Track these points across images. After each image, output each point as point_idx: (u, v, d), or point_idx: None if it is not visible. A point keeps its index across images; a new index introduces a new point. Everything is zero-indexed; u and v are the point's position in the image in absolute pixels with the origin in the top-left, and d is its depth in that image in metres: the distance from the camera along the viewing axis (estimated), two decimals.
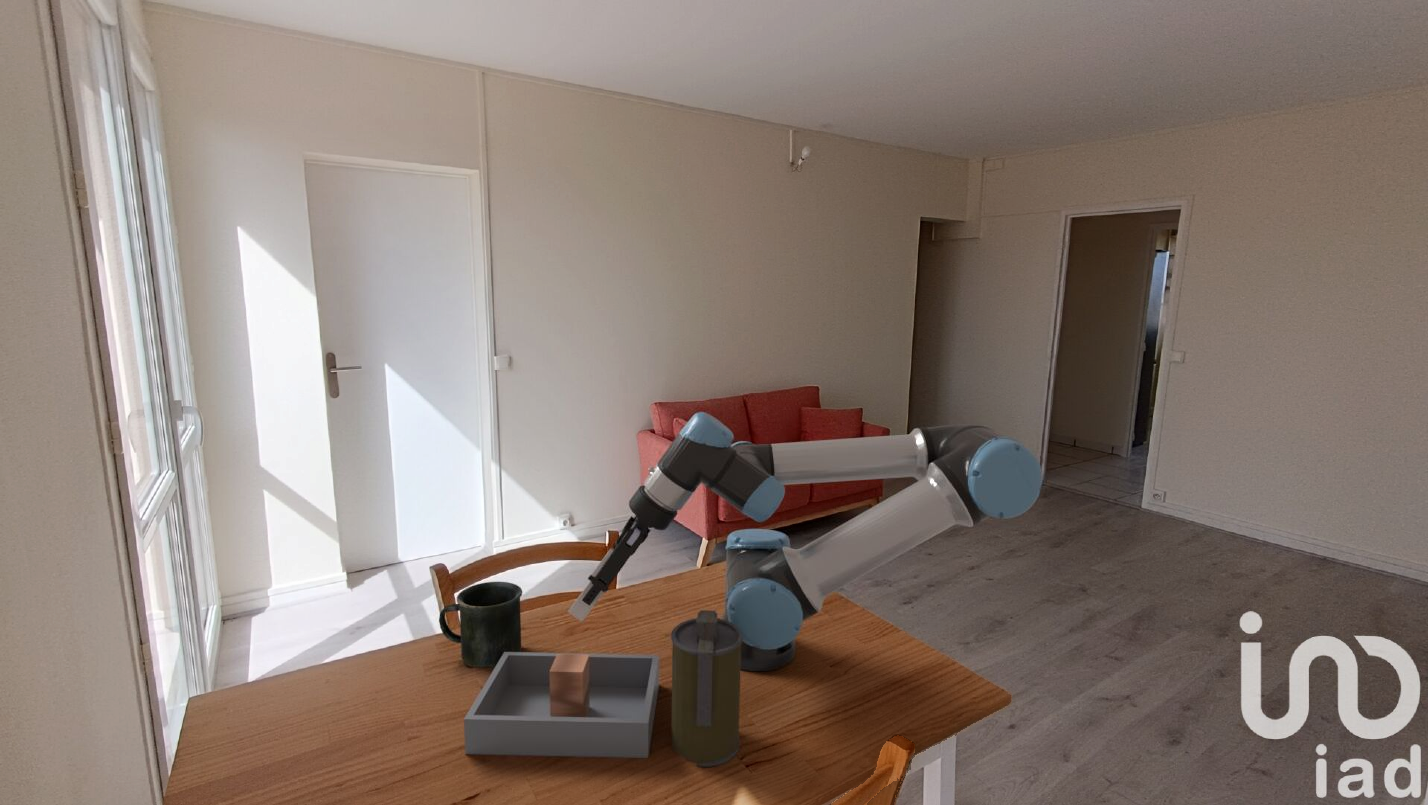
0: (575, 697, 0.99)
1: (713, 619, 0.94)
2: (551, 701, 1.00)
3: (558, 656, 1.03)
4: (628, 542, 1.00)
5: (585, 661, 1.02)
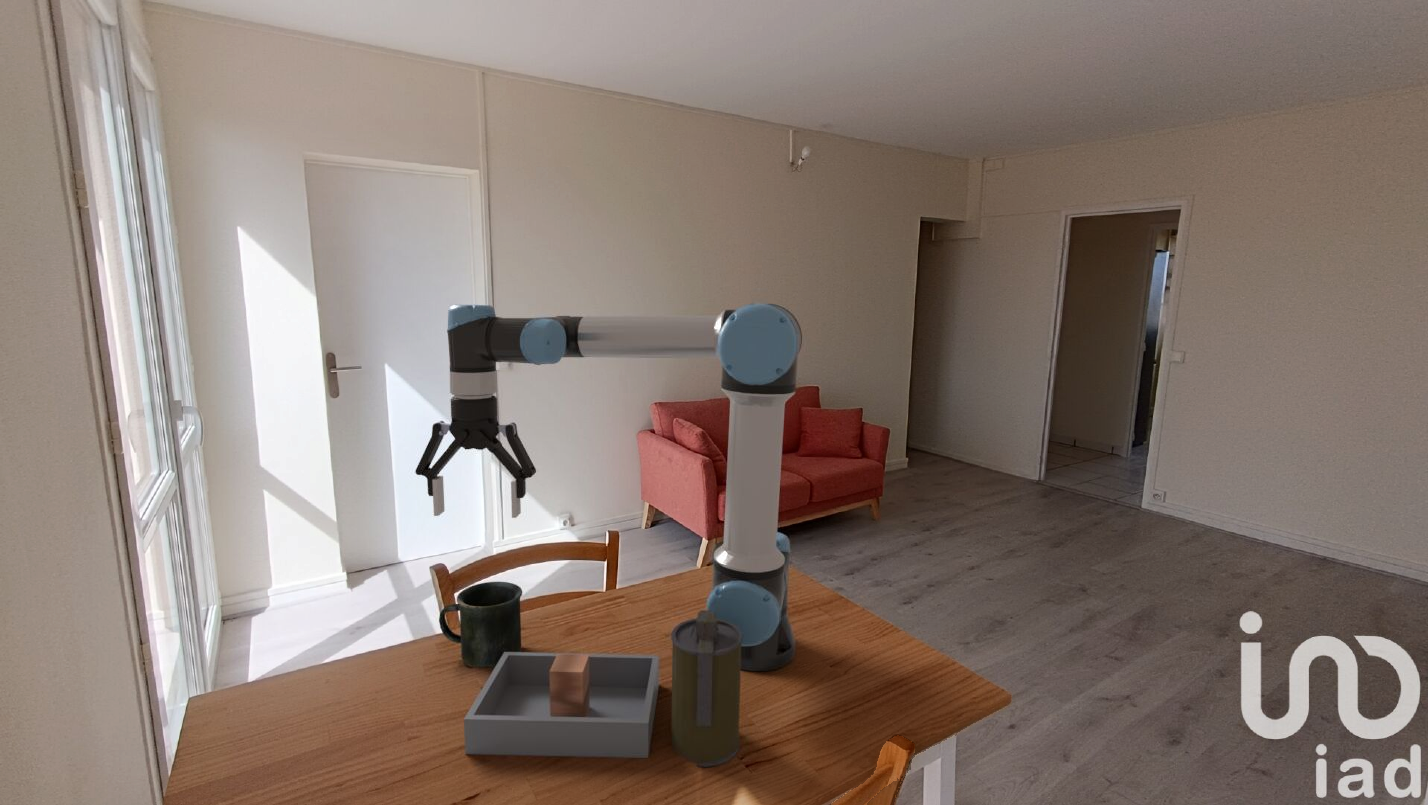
0: (575, 697, 0.99)
1: (713, 619, 0.94)
2: (551, 701, 1.00)
3: (558, 656, 1.03)
4: None
5: (585, 661, 1.02)
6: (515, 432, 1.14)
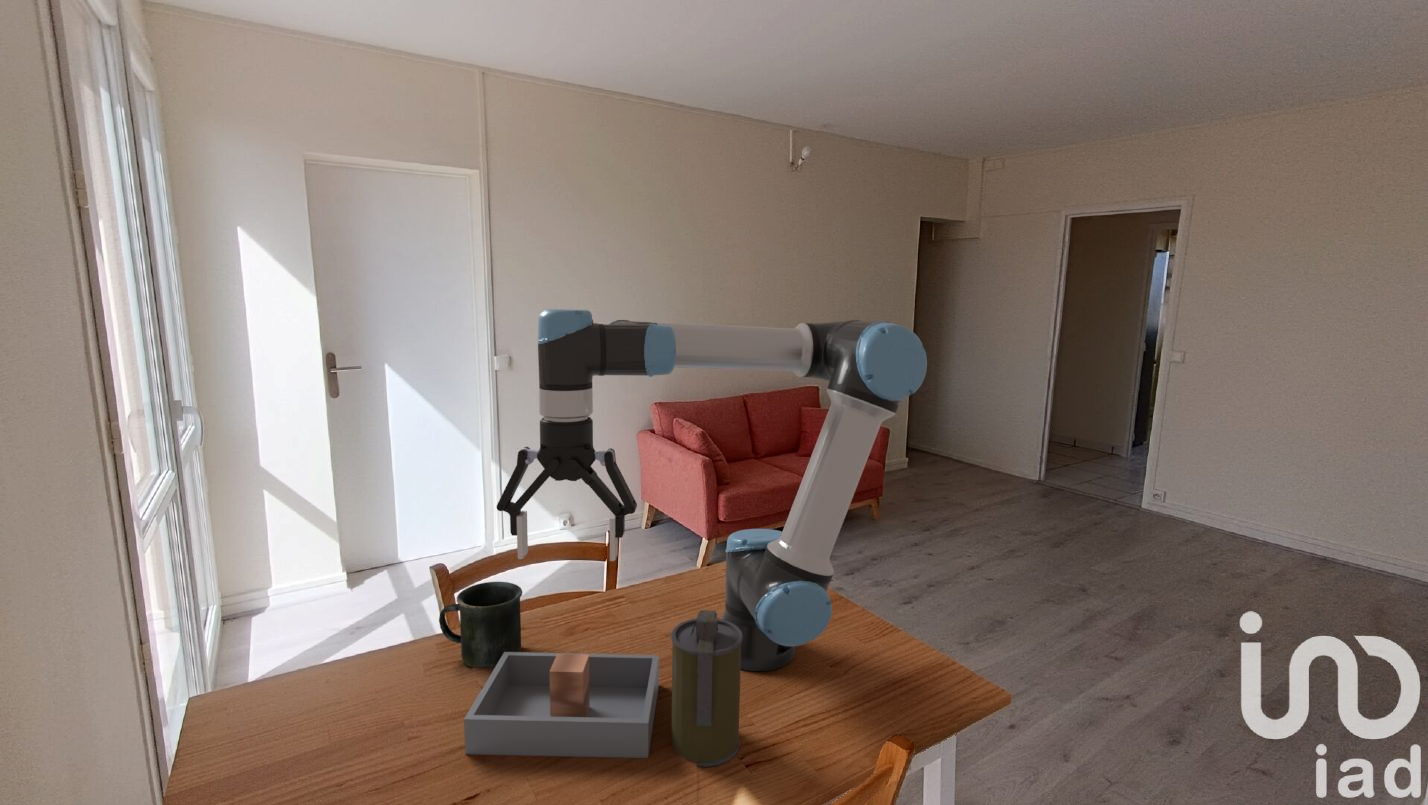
0: (575, 697, 0.99)
1: (713, 618, 0.95)
2: (551, 701, 1.00)
3: (558, 656, 1.03)
4: None
5: (585, 661, 1.02)
6: (614, 460, 0.97)
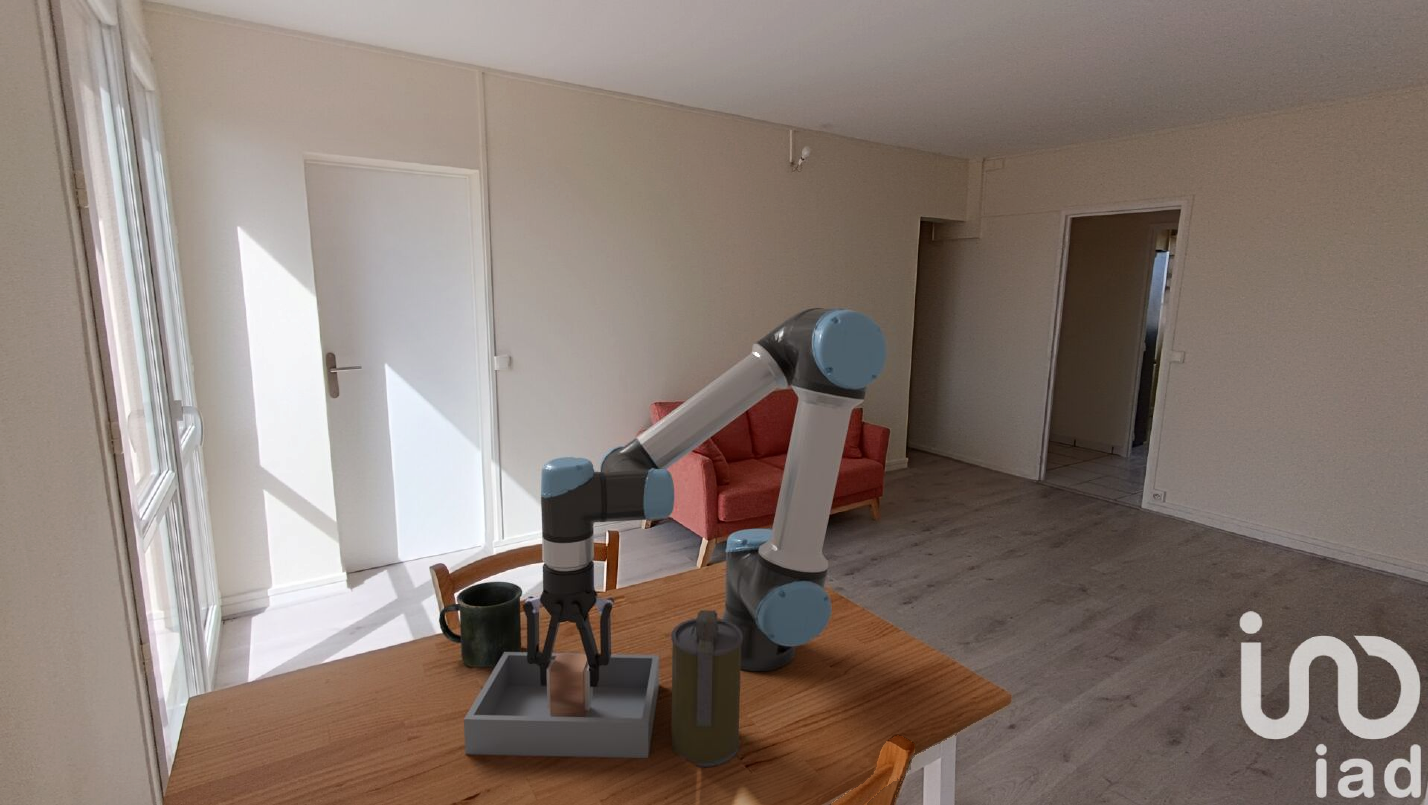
0: (575, 697, 0.99)
1: (713, 618, 0.95)
2: (551, 701, 1.00)
3: (558, 656, 1.03)
4: None
5: (585, 661, 1.02)
6: None
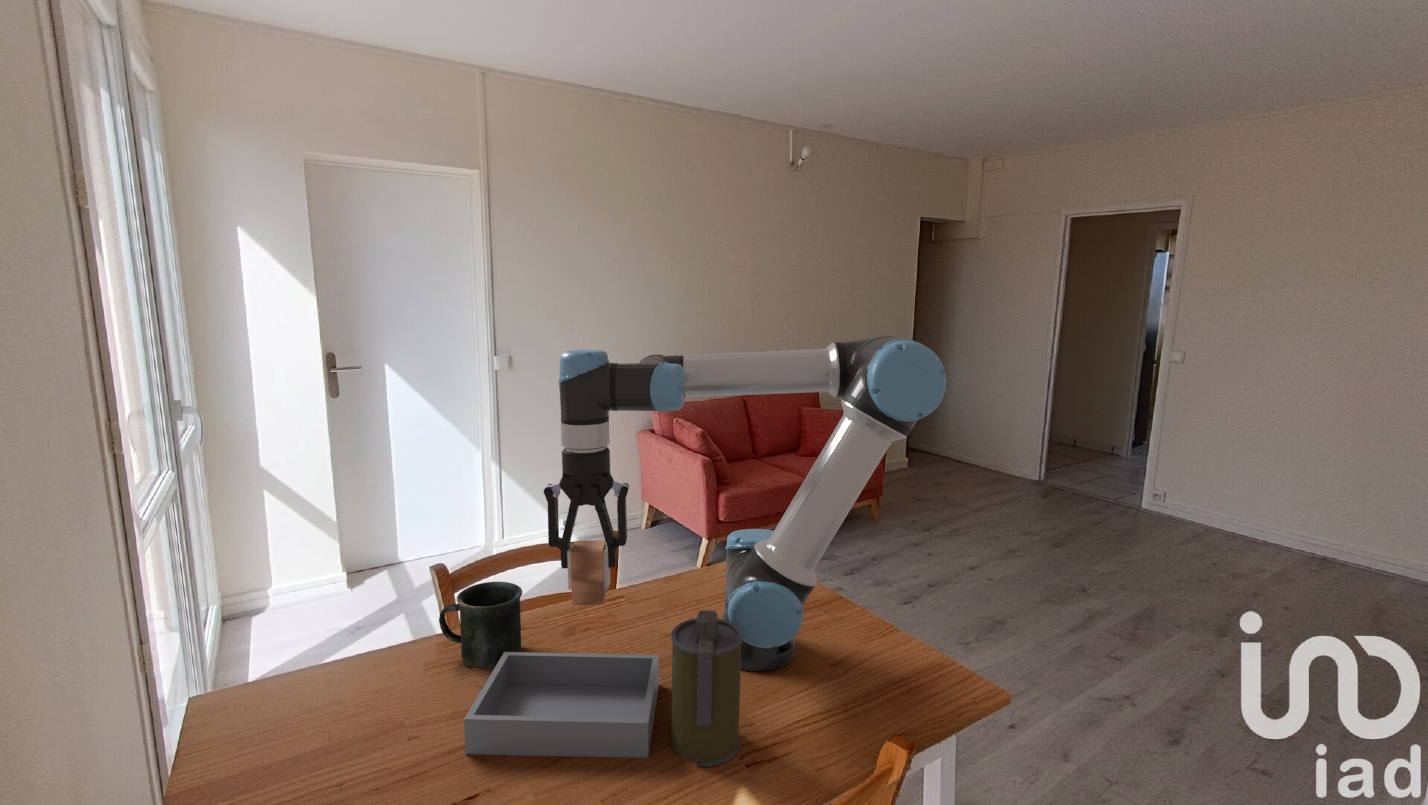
0: (595, 576, 1.06)
1: (713, 619, 0.94)
2: (572, 581, 1.06)
3: (576, 542, 1.09)
4: None
5: (603, 544, 1.08)
6: None
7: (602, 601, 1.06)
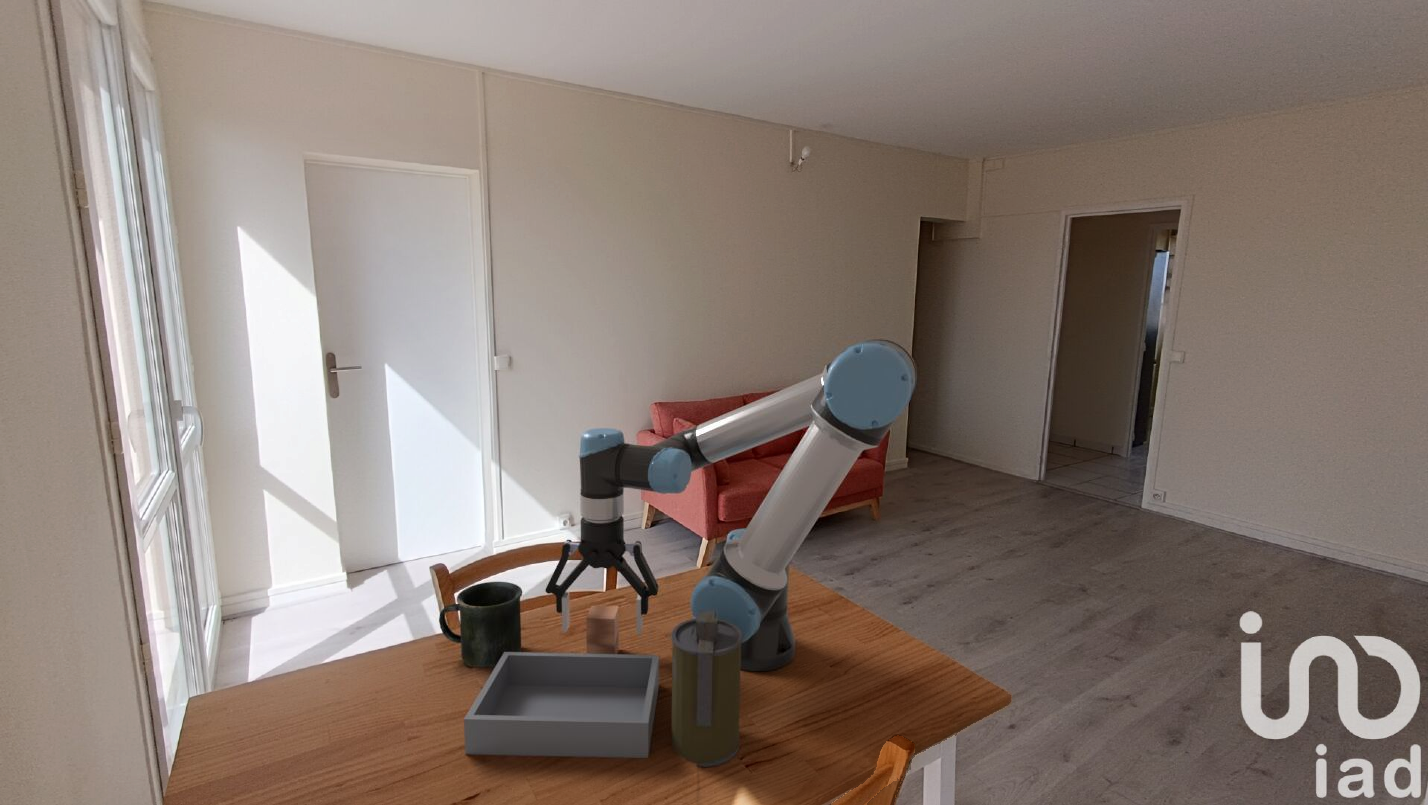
0: (608, 640, 1.17)
1: (713, 619, 0.94)
2: (587, 644, 1.18)
3: (592, 607, 1.21)
4: None
5: (616, 611, 1.20)
6: (641, 551, 1.18)
7: None
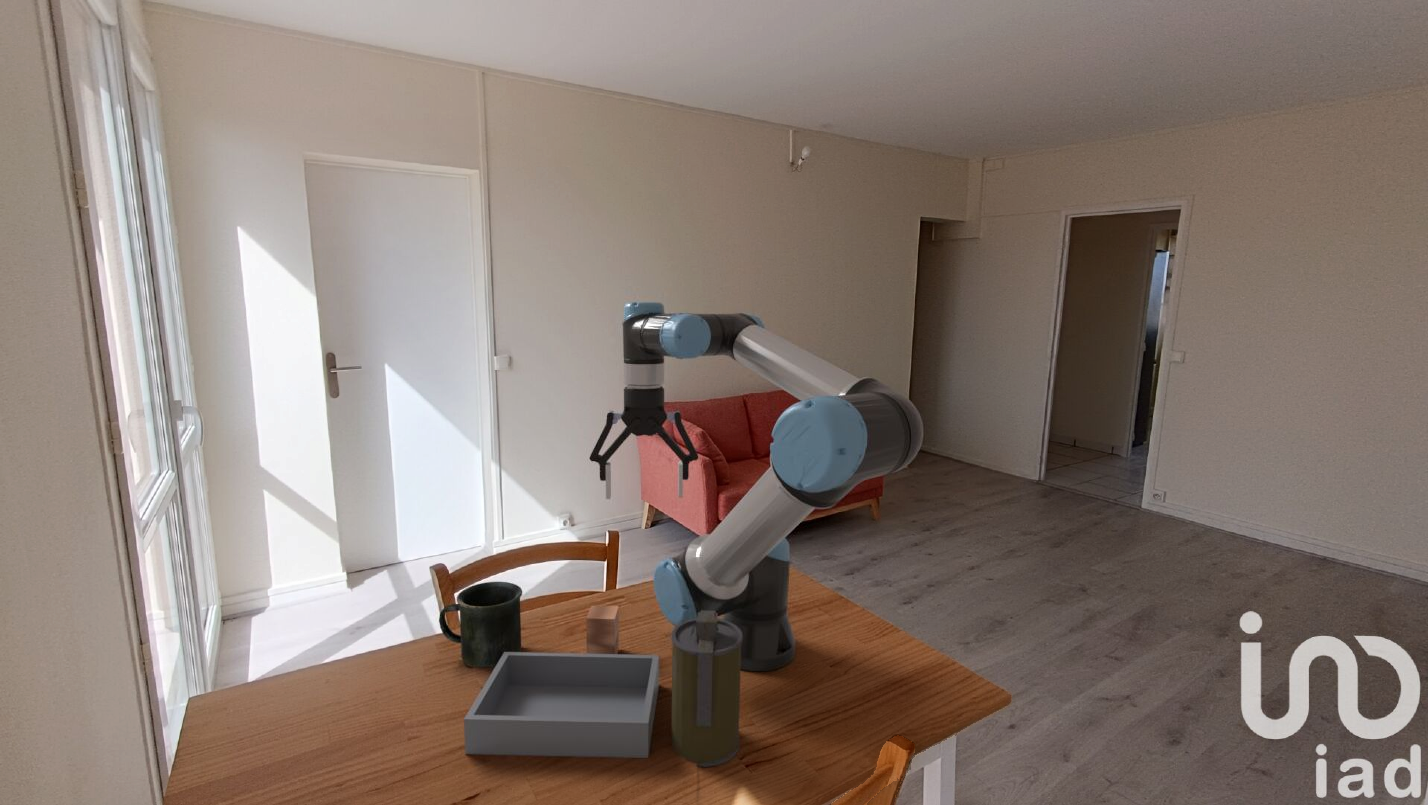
0: (608, 640, 1.17)
1: (713, 619, 0.94)
2: (587, 644, 1.18)
3: (592, 607, 1.21)
4: None
5: (616, 611, 1.20)
6: None
7: None
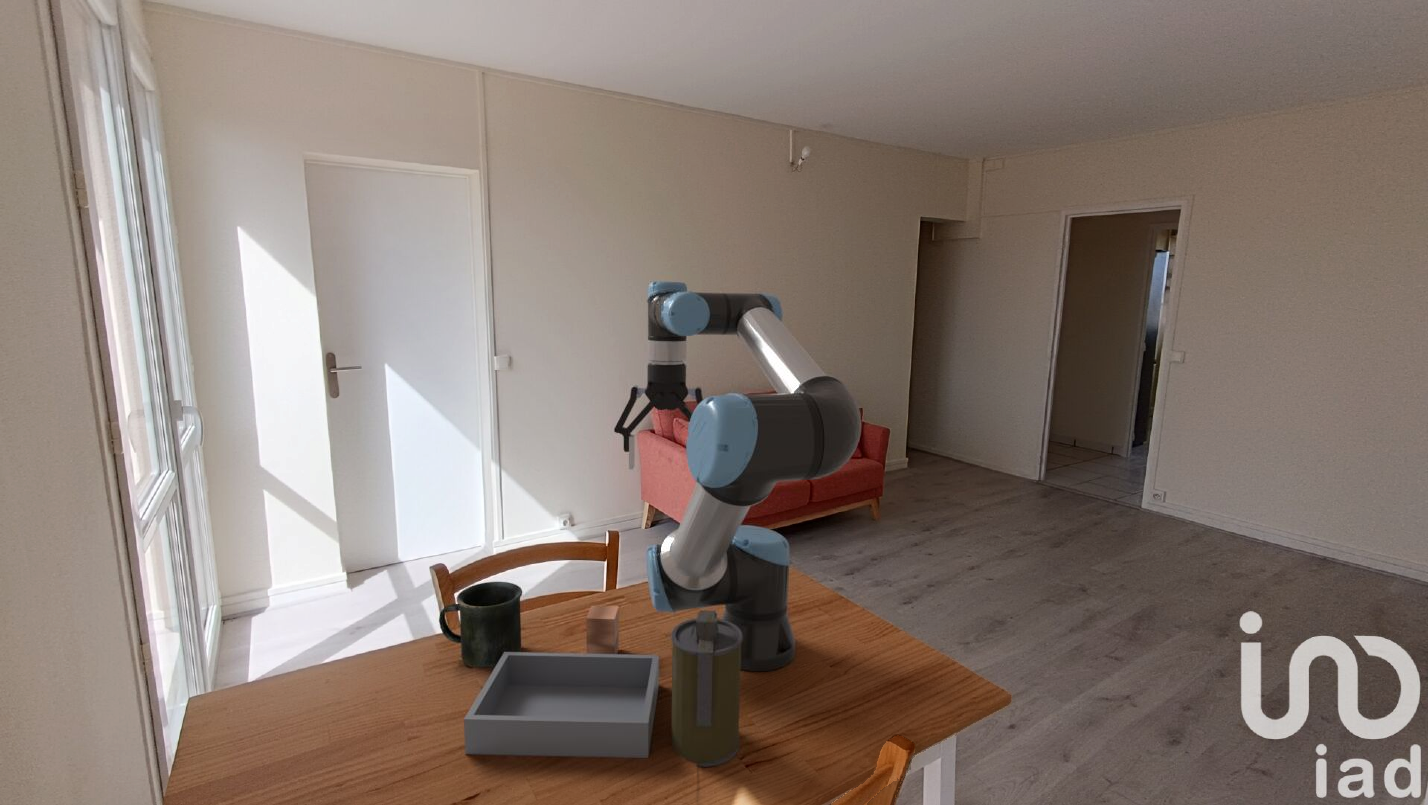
0: (608, 640, 1.17)
1: (713, 618, 0.95)
2: (587, 644, 1.18)
3: (592, 607, 1.21)
4: None
5: (616, 611, 1.20)
6: None
7: None
